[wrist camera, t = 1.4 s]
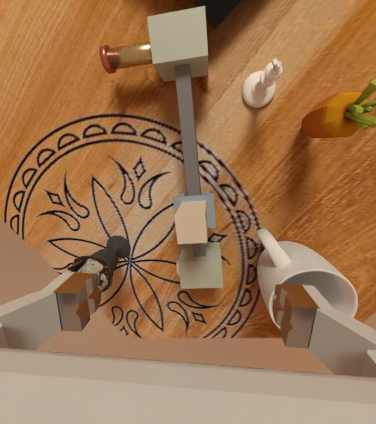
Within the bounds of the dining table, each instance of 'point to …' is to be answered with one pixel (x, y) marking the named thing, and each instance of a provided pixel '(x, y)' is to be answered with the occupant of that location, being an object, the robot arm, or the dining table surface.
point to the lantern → (217, 10)
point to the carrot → (340, 115)
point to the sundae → (103, 261)
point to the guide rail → (187, 122)
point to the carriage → (194, 217)
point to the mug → (301, 273)
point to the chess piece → (262, 85)
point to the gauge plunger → (125, 56)
